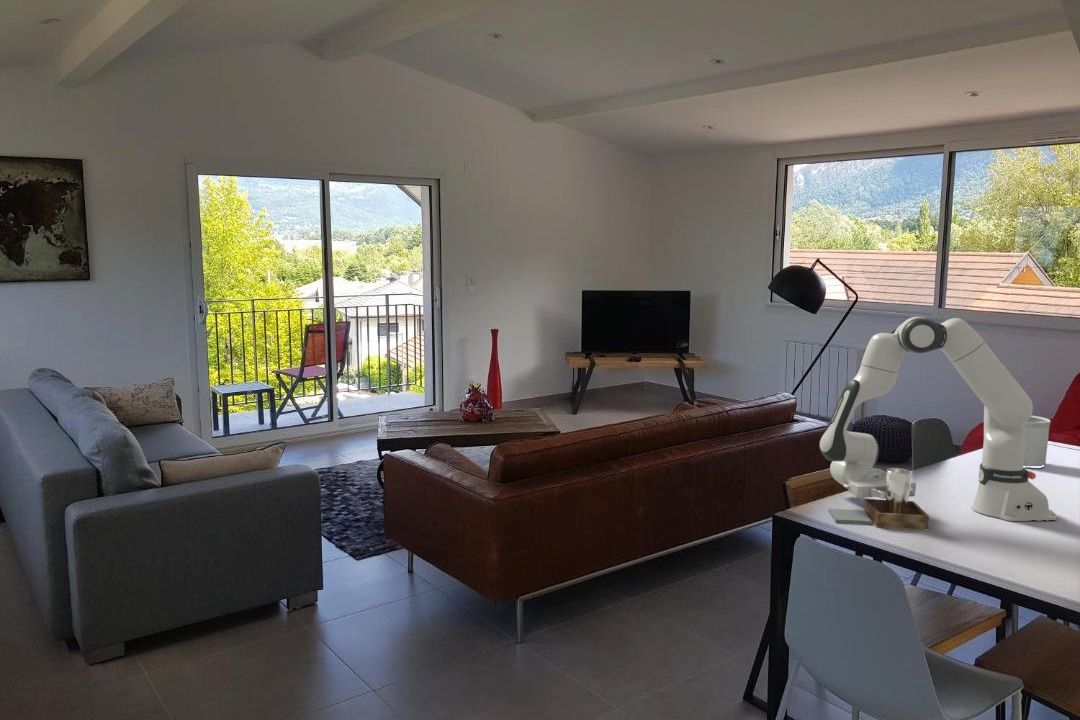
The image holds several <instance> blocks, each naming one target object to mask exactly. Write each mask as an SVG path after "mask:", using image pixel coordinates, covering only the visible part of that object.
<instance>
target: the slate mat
mask: <svg viewBox="0 0 1080 720" xmlns="http://www.w3.org/2000/svg"><path fill="white" fill-rule="evenodd" d="M827 512H828V514H829V513H830V514H831V515H830V514H829V515H830V517H831V516H832V517H833V518H832V517H831V518H832V519H834V520H835V521H834V520H833V521H834V522H835V523H836V522H839V524H851V523H855V524H854V525H856V524H857V525H872V523H873V522H872V520H871V519H870V518H869V517H868V516H867V514H866V513H865V512H864V510H863V509H862V510H861V509H841V508H828V510H827Z"/></svg>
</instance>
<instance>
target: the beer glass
mask: <svg viewBox="0 0 1080 720" xmlns="http://www.w3.org/2000/svg"><path fill="white" fill-rule="evenodd" d="M886 470H887V473H886V479H885V492H887V494H888V495H887V498H885V500H886V513H892V514H906V506H907V502H908V501H909V499H910V496H909V495H910V490H911V480H912V471H911V470H908V469H905V468H898V467H891V468H890V467H889V468H887V469H886Z"/></svg>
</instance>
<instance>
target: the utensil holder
mask: <svg viewBox="0 0 1080 720" xmlns="http://www.w3.org/2000/svg"><path fill="white" fill-rule="evenodd" d="M1051 421H1052V420H1050V419H1049V418H1047V417H1046V418H1045V417H1043V416H1038V415H1037V416H1036V415H1031V417H1030V419H1029V420H1028V421H1027V422H1025V454H1024V464H1023V466H1042V465H1045V466H1046V459H1047V453H1048V452H1047V451H1048V442H1049V433H1050V426H1051Z"/></svg>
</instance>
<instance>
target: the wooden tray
mask: <svg viewBox="0 0 1080 720" xmlns="http://www.w3.org/2000/svg"><path fill="white" fill-rule="evenodd" d="M864 501H865V502H864V510H863V511H864V512H865V514H866V515H867V516H868V517H869V519H870V520H871V521H872V523H873V524H874V526H875V527H877V528H888V529H889V528H890V529H904V528H910V529H909V530H923V529H928V530H929V522H930V516H929V514H927V513H926V512H925V511H924V510H923V509H922V508H921V507H920V506H919V504H917V503H916V502H915V501H913V500H912V501H911V500H908V502H907V506H906V514H892V513H886V499H874V498H865V500H864Z"/></svg>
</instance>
